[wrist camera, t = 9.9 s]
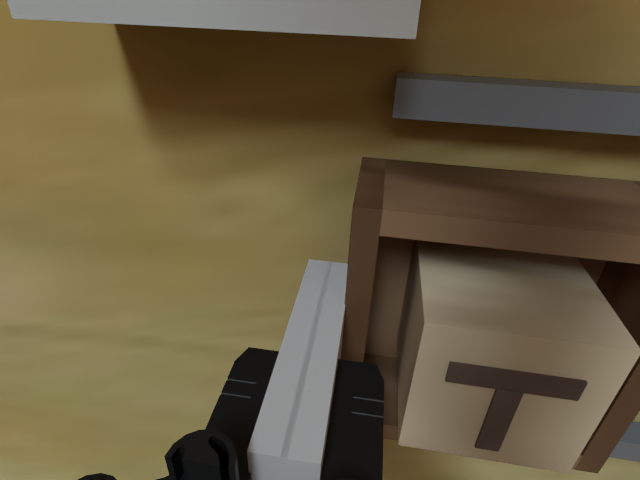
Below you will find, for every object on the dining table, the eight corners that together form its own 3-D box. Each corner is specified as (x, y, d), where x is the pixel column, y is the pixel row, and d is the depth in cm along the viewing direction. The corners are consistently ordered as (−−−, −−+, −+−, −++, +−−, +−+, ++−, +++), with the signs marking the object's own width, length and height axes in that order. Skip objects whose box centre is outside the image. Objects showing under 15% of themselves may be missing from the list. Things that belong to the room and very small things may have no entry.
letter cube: (397, 333, 15) (397, 448, 11) (416, 226, 13) (425, 325, 9) (524, 350, 15) (569, 476, 11) (566, 242, 13) (644, 354, 9)
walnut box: (344, 354, 17) (333, 429, 14) (363, 157, 13) (352, 206, 10) (560, 384, 16) (597, 473, 13) (658, 183, 12) (748, 247, 9)
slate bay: (357, 397, 18) (353, 438, 16) (396, 71, 11) (396, 85, 10) (693, 448, 17) (727, 500, 15) (975, 106, 10) (1097, 130, 8)
